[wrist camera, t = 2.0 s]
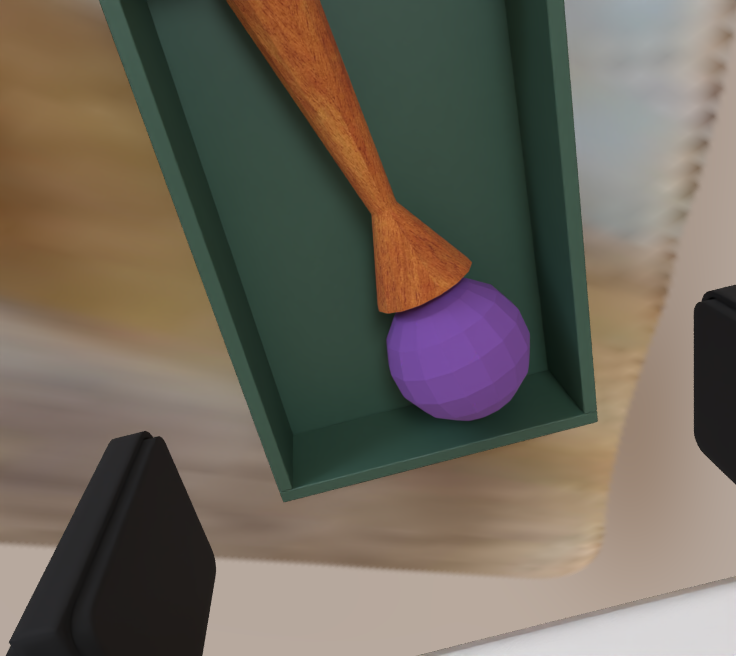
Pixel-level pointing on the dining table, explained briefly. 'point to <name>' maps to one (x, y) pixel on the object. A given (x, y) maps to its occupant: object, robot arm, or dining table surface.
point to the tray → (354, 221)
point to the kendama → (398, 236)
